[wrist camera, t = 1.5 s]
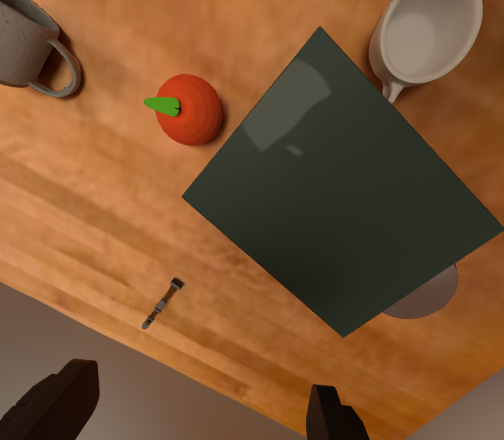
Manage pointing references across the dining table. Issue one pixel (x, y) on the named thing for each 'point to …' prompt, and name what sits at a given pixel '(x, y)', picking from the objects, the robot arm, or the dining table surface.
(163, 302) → the dark brown angled piece
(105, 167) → the dining table surface
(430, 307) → the navy can
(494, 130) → the dining table surface
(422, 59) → the teacup
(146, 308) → the dining table surface
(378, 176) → the cubby
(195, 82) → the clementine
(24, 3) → the ceramic mug
